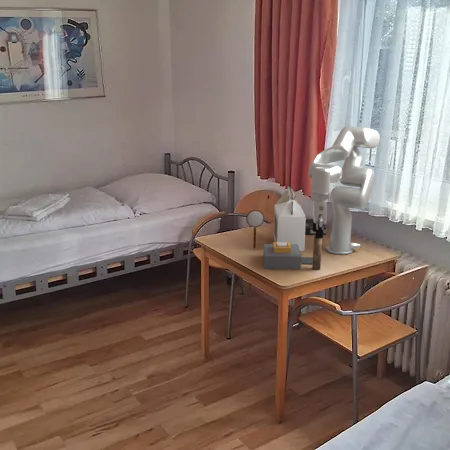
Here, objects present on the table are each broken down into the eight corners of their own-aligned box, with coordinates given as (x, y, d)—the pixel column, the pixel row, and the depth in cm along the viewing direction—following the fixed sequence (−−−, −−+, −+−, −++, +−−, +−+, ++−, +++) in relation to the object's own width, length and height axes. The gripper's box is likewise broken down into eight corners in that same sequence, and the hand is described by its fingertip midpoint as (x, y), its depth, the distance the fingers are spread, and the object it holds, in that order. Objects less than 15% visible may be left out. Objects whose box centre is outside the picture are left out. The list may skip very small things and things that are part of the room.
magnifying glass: (246, 250, 264) (246, 210, 258) (245, 249, 266) (246, 209, 260) (263, 249, 265) (264, 210, 259) (262, 248, 267) (263, 209, 261)
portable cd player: (294, 235, 287) (294, 228, 286) (290, 226, 303) (290, 219, 302) (325, 235, 287) (326, 228, 286) (319, 226, 304) (320, 219, 302)
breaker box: (297, 256, 256) (298, 239, 254) (300, 269, 241) (301, 251, 238) (263, 256, 257) (263, 238, 254) (264, 268, 242) (264, 250, 239)
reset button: (286, 254, 250) (286, 242, 248) (286, 258, 246) (287, 245, 244) (276, 254, 250) (276, 242, 249) (276, 258, 246) (277, 245, 244)
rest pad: (317, 258, 254) (317, 257, 254) (319, 264, 246) (319, 263, 246) (300, 258, 254) (300, 257, 254) (301, 264, 247) (301, 263, 247)
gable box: (304, 251, 263) (306, 195, 255) (276, 251, 263) (278, 195, 255) (298, 236, 284) (301, 184, 276) (273, 236, 284) (274, 184, 276)
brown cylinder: (319, 267, 243) (321, 235, 239) (320, 270, 240) (322, 237, 236) (311, 267, 243) (313, 235, 239) (312, 270, 240) (314, 237, 236)
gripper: (331, 201, 223) (329, 241, 228) (326, 192, 240) (323, 229, 245) (313, 200, 224) (311, 240, 228) (308, 191, 240) (306, 228, 245)
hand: (317, 234), depth 236 cm, fingers open, 9 cm apart
